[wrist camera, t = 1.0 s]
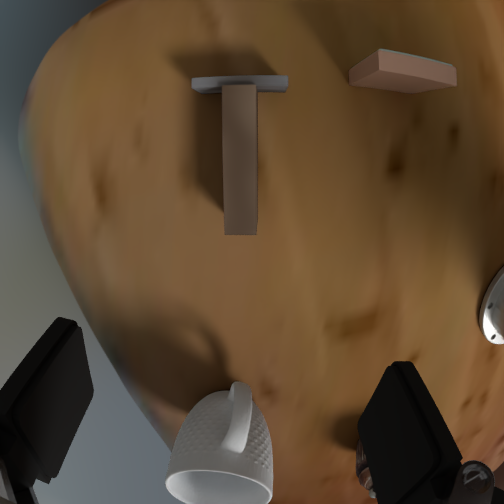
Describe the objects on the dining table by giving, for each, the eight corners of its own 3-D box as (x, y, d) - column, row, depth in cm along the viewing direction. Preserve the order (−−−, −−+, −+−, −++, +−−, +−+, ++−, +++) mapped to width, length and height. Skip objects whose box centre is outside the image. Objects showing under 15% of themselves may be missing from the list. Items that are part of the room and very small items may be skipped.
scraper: (285, 83, 24) (288, 74, 20) (283, 219, 29) (286, 235, 25) (202, 85, 25) (190, 77, 21) (205, 219, 29) (195, 234, 25)
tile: (411, 77, 23) (455, 65, 16) (411, 94, 24) (457, 86, 16) (348, 68, 24) (378, 47, 16) (349, 85, 24) (379, 70, 17)
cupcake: (353, 461, 42) (362, 511, 33) (347, 431, 39) (359, 488, 30) (409, 444, 41) (425, 492, 31) (411, 411, 38) (432, 465, 28)
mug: (197, 342, 34) (169, 436, 22) (295, 364, 35) (303, 461, 22) (181, 421, 39) (161, 500, 27) (259, 438, 40) (256, 517, 28)
